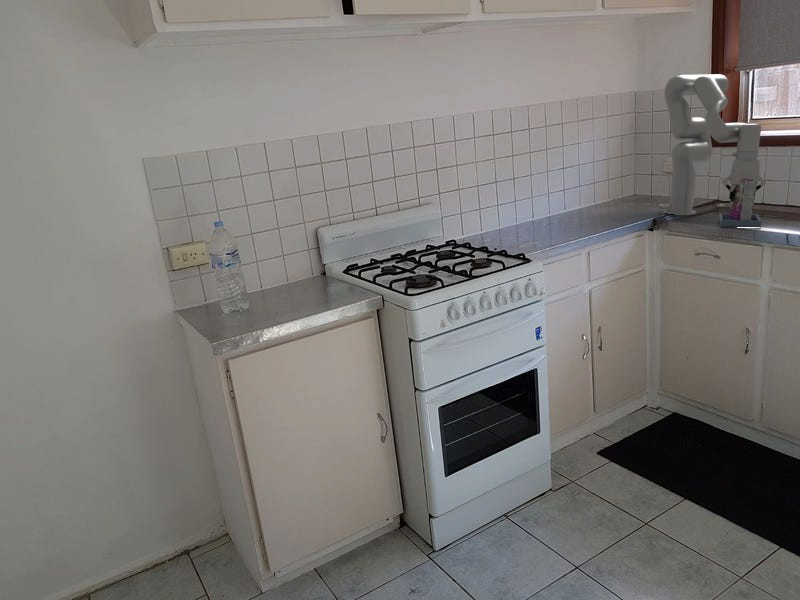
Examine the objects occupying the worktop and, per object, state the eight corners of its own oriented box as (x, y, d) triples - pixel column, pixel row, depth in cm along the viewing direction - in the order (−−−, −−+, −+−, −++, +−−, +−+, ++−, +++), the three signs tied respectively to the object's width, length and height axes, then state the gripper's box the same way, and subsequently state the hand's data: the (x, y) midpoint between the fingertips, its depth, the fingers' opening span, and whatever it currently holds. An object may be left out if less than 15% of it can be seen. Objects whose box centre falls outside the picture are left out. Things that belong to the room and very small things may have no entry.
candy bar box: (727, 216, 265) (731, 176, 260) (739, 216, 265) (744, 176, 260) (739, 221, 254) (744, 179, 249) (752, 221, 254) (757, 179, 249)
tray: (720, 227, 256) (721, 220, 255) (718, 220, 270) (719, 213, 269) (760, 229, 250) (761, 221, 249) (756, 222, 264) (757, 214, 264)
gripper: (723, 156, 252) (718, 202, 257) (773, 156, 246) (766, 203, 251) (722, 155, 259) (717, 199, 264) (770, 155, 252) (764, 200, 257)
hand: (741, 200), depth 257 cm, fingers closed on candy bar box, 6 cm apart
